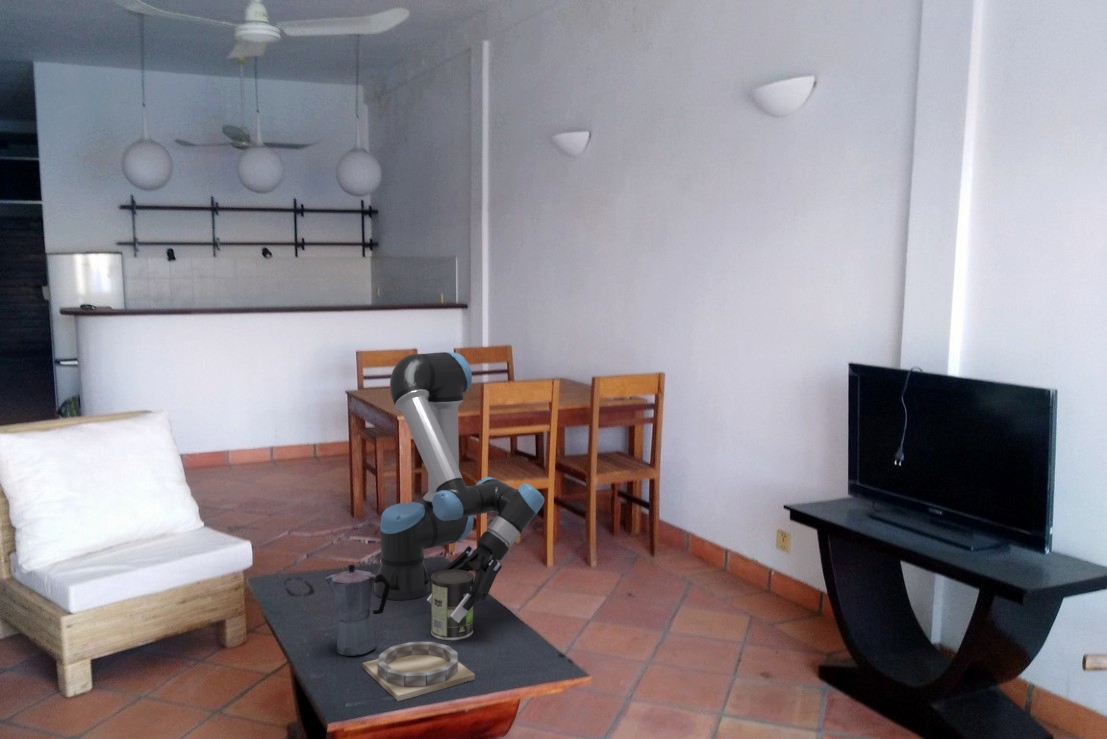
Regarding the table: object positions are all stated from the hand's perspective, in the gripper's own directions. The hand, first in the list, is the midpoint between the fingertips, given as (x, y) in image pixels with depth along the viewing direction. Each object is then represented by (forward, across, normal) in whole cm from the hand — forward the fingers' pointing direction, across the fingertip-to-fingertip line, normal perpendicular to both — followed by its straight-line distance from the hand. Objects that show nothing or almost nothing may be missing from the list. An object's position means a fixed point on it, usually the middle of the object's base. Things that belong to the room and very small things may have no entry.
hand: (442, 611), depth 213 cm
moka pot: (+19, +3, +10) cm, 21 cm away
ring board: (+14, -16, +6) cm, 22 cm away
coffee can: (+2, 0, -6) cm, 7 cm away
